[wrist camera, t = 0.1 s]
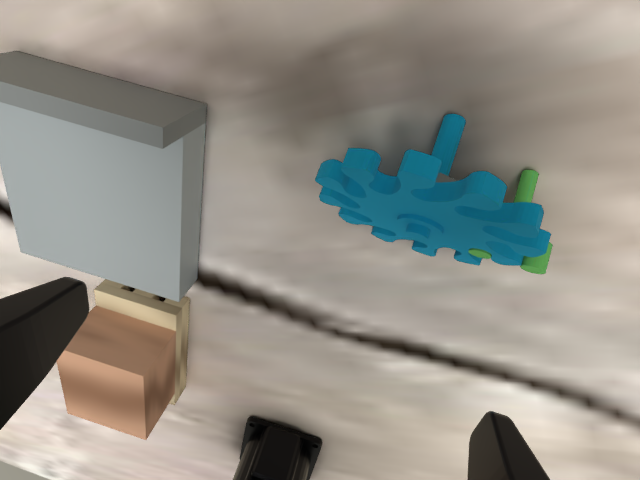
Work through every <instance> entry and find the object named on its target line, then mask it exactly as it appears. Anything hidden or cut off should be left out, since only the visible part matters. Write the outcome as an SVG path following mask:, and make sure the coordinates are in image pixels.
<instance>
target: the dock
mask: <svg viewBox="0 0 640 480" xmlns="http://www.w3.org/2000/svg"><path fill="white" fill-rule="evenodd" d="M206 112H207V104H205V103H202V102H198V101H194V100H191V99H187V98H184V97H180V96H176V95H173V94H169V93H166V92H162V91H158V90H155V89H151V88H148V87H144V86H141V85H137V84H133V83H130V82H126V81H123V80H119V79H115V78H112V77H108V76H105V75H101V74H97V73H94V72H90V71H87V70H83V69H80V68H76V67H72V66H69V65H65V64H62V63H58V62H54V61H51V60H47V59H44V58H40V57H36V56H33V55H29V54H26V53H22V52H19V51H13V52H7V53H1V54H0V166H1V170H2V174H3V178H4V183H5V187H6V191H7V195H8V200H9V204H10V208H11V213H12V217H13V221H14V225H15V230H16V234H17V238H18V242H19V247H20V251H21V252H22V253H25V254H28V255H31V256H34V257H38V258H41V259H44V260H47V261H50V262H53V263H57V264H60V265H63V266H66V267H69V268H72V269H76V270H79V271H82V272H85V273H88V274H91V275H95V276H98V277H101V278H104V279H107V280H110V281H114V282H117V283H120V284H123V285H126V286H129V287H133V288H136V289H139V290H142V291H145V292H148V293H152V294H155V295H158V296H161V297H164V298H167V299H171V300H174V301H177V302H180V300H181V299H182V298H183V297H184V295H185V294H186V293H187V291H188V290H189V289H190V288H191V286H192V285H193V284H194V282H195V281H196V280H197V274H198V256H199V238H200V220H201V202H202V184H203V166H204V148H205V130H206Z"/></svg>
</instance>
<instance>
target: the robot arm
mask: <svg viewBox="0 0 640 480" xmlns="http://www.w3.org/2000/svg"><path fill="white" fill-rule="evenodd" d="M88 313H89V302H88V295H87V287H86V285H85V283H84V282H82V281H80V280H77V279H73V278H70V277H63V278H60V279H57V280H54V281H51V282H48V283H45V284H42V285H39V286H36V287H34V288H31V289H28V290H25V291H22V292H19V293H16V294H13V295H10V296H7V297H5V298H2V299H0V430H1V429H2V427H3V426H4V425H5V424H6V423H7V421H8V420H9V419H10V418H11V417H12V416H13V414H14V413H15V412H16V411H17V410H18V409H19V407H20V406H21V405H22V404H23V403H24V402H25V400H26V399H27V398H28V397H29V396H30V395H31V393H32V392H33V391H34V390H35V389H36V388H37V386H38V385H39V384H40V383H41V382H42V380H43V379H44V378H45V377H46V375H47V374H48V373H49V371H50V370H51V369H52V367H53V366H54V364H55V363H56V361H57V360H58V359H59V357H60V356H61V354H62V353H63V351H64V350H65V348H66V347H67V346H68V344H69V343H70V341H71V340H72V338H73V337H74V336H75V334H76V333H77V331H78V330H79V328H80V327H81V326H82V324H83V323H84V321H85V320H86V318H87V316H88ZM321 446H322V441H321V440H320V439H318V438H315V437H312V436H309V435H306V434H303V433H300V432H297V431H294V430H291V429H288V428H285V427H282V426H279V425H276V424H273V423H270V422H267V421H264V420H261V419H258V418H254V417H249V418H248V420H247V423H246V427H245V433H244V438H243V444H242V449H241V454H240V462H239V465H238V468H237V470H236V473H235V475H234V478H233V480H309V479H310V476H311V473H312V471H313V468H314V465H315V463H316V460H317V457H318V455H319V452H320V449H321ZM468 480H550V479H549V477H548V476H547V474H546V472H545V471H544V469H543V468H542V466H541V465H540V463H539V462H538V460H537V459H536V457H535V455H534V454H533V452H532V451H531V449H530V448H529V446H528V445H527V443H526V441H525V440H524V438H523V437H522V435H521V434H520V432H519V431H518V429H517V428H516V426H515V424H514V423H513V421H512V420H511V419H510V418H509V417H507V416H505V415H502V414H499V413H496V412H493V411H489V412H487V413H486V414H485V415H484V417H483V418H482V419H481V421H480V422H479V424H478V425H477V427H476V428H475V429H474V431H473V432H472V435H471V437H470V442H469V461H468Z"/></svg>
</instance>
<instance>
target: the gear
mask: <svg viewBox="0 0 640 480" xmlns="http://www.w3.org/2000/svg"><path fill="white" fill-rule="evenodd" d="M465 123H466V120H465V119H464V118H463V117H462V116H460V115H457V114H447V115H445V116H444V118H443V121H442V124H441V127H440V130H439V133H438V136H437V139H436V142H435V145H434V148H433V151H432V154H431V155H429V154H425V153H422V152H419V151H415V150H411V149H410V150H407V151H406V152H405V154H404V157H403V159H402V162H401V165H400V168H399V171H398V174H397V176H389V175H385V174H383V173H381V172H379V171H378V167H379V164H380V162H381V157H380V155H379V154H378V153H377V152H375V151H373V150H369V149H362V148H348V151H347V153H346V156H345V158H344V161H343V163H342V162H340V161H338V160H335V159H331V160H327V161H325V162H323V163H322V164H321V166H320V169H319V171H318V174H317V176H316V179H315V181H316V182H317V183H319V184H320V185H322V186H323V188H322V190H321V193H320V195H319V198H320V201H322V202H324V203H326V204H329V205H333V206H338V207H341V209H340V211H339V216H340V217H341V218H342V219H343V220H345V221H346V222H348V223H351V224H357V225H358V224H365V225H371V226H373V229H372V232H371V234H373V235H374V236H376V237H378V238H380V239H382V240H384V241H387V242H394V241H395V240H398V239H407V240H414V243H413V246H412V249H413V250H415V251H417V252H420V253H423V254H426V255H429V256H435V255H436V252H437V249H438V248H442V247H447V248H451V249H454V250H456V252H455V255H454V259H456V260H457V261H461V262H464V263H469V264H474V265H480V263H481V259H482V258H486V259H489V258H491V260H493V261H494V262H496V263H498V264H502V265H521V266H520V267H521V269H523V270H525V271H528V272H531V273H536V274H545V273H546V269H547V265H548V261H549V257H550V253H551V249H552V246H553V245H552V244H551V243H550V242H549V240H550V236H551V234H550V233H549V232H547V231H545V230H542V229H540V226H541V222H542V218H543V214H544V212H543V208H542V206H541V205H539V204H535V203H531V201H532V197H533V194H534V190H535V186H536V183H537V179H538V175H539V174H538V173H537V172H536V171H533V170H524V171H523V172H522V174H521V178H520V181H519V185H518V188H517V192H516V196H515V199H514V203H504V202H503V200H504V196H505V193H506V189H507V186H506V184H505V183H504V182H503V181H502V180H500V179H499V178H497V177H496V176H494V175H493V174H491V173H489V172H487V171H477V172H473V173H471V174H470V175H469V176H468V177H466V178H464V179H462V180H459V181H457V180H455V179H453V178H451V177H449V173H450V169H451V166H452V163H453V160H454V157H455V154H456V151H457V148H458V145H459V142H460V138H461V135H462V132H463V129H464V126H465Z"/></svg>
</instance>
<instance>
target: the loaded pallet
mask: <svg viewBox="0 0 640 480" xmlns="http://www.w3.org/2000/svg"><path fill="white" fill-rule="evenodd" d="M94 292H95V300H96V306H95V307H94V308H93V309H92V310H91V311H90V312H89V313H88V316H87V318H86V320H85V321H84V323H83V324H82V326H81V327H80V328H79V330H78V331H77V333H76V334H75V336H74V337H73V338H72V340H71V341H70V343H69V344H68V346H67V347H66V348H65V350H64V351H63V353H62V354H61V356H60V357H59V359H58V360H57V365H58V370H59V375H60V379H61V384H62V389H63V393H64V398H65V403H66V407H67V412H68V414H71V415H74V416H77V417H80V418H83V419H86V420H89V421H92V422H95V423H98V424H101V425H103V426H106V427H109V428H112V429H115V430H118V431H121V432H124V433H127V434H130V435H133V436H136V437H139V438H141V439H144V440H146V439H147V438H148V436H149V435H150V433H151V431H152V430H153V428H154V426H155V425H156V423H157V422H158V420H159V418H160V417H161V415H162V413H163V412H164V410H165V409H166V407H167V405H168V404H172V405H175V403H176V402H177V400H178V398H179V397H180V395H181V393H182V392H183V390H184V389H185V387H186V372H187V349H188V326H189V304H190V298H188V297H185V296H184V297H183V298H182V299H181V300H180V302H177V301H174V300H171V299H167V298H166V299H165V300H164V302H162V301H160V296H158V295H155V294H152V293H148V292H145V291H142V290H139V289H135V290H134V291H133V292H130V287H129V286H126V285H123V284H120V283H117V282H114V281H110V280H107V279H105V280H104V281H103V282H102V283H101V284H100V285H99V286H97V287H96V288H95V289H94Z"/></svg>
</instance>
